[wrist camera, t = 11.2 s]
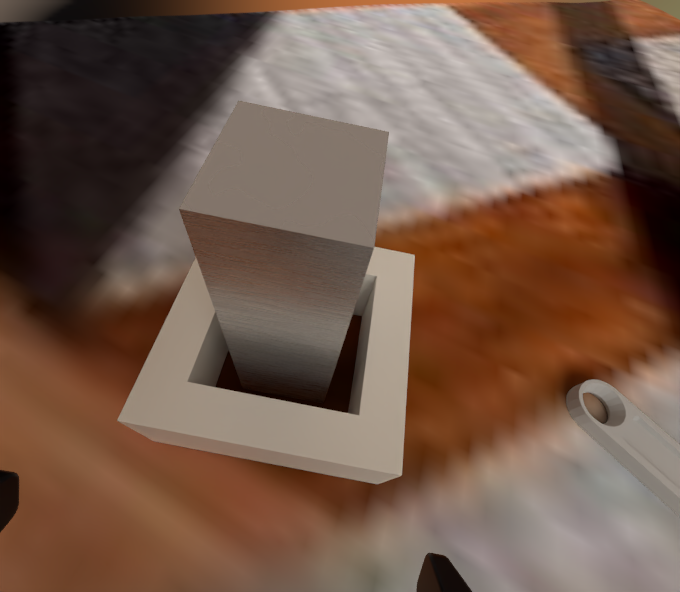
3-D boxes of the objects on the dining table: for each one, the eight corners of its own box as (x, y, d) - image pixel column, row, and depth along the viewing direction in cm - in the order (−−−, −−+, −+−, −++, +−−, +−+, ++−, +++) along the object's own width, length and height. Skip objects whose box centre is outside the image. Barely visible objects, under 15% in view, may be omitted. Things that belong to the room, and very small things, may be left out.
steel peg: (323, 403, 17) (374, 247, 7) (242, 388, 17) (179, 208, 7) (336, 330, 20) (389, 131, 9) (264, 316, 19) (238, 100, 9)
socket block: (377, 484, 16) (401, 475, 12) (153, 441, 16) (116, 420, 12) (394, 296, 21) (414, 254, 18) (227, 262, 21) (216, 213, 18)
